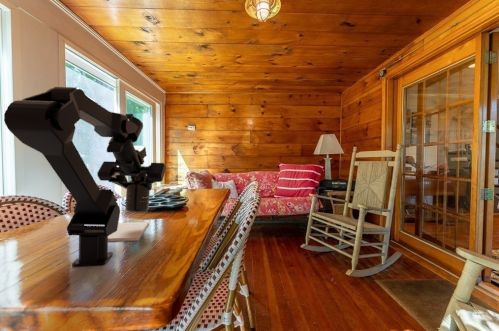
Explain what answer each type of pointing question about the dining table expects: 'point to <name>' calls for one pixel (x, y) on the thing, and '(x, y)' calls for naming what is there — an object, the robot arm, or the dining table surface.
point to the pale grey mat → (128, 231)
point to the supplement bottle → (137, 194)
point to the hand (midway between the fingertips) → (139, 188)
